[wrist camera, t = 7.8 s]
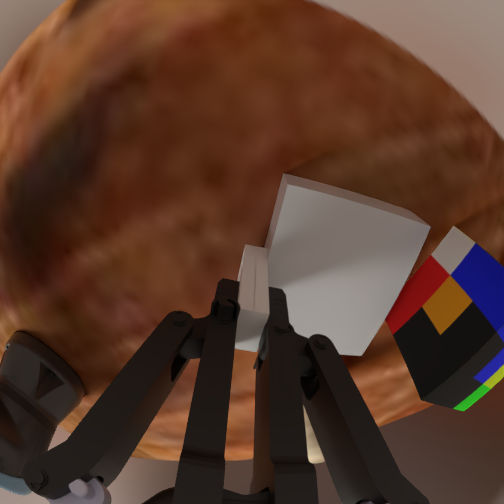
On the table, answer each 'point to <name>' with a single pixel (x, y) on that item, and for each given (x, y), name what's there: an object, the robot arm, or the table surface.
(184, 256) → the table surface
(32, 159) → the table surface
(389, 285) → the slab
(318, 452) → the dowel
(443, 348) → the puzzle toy
